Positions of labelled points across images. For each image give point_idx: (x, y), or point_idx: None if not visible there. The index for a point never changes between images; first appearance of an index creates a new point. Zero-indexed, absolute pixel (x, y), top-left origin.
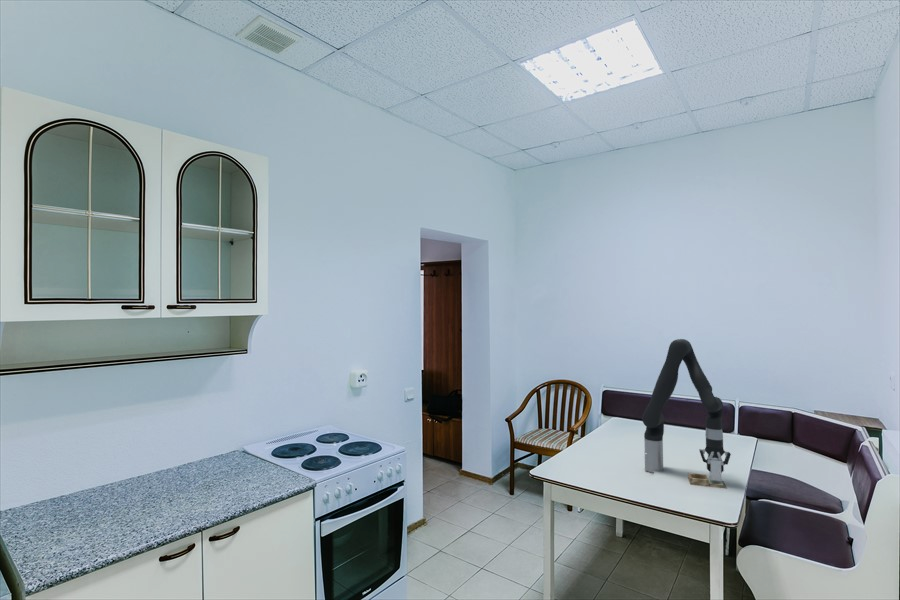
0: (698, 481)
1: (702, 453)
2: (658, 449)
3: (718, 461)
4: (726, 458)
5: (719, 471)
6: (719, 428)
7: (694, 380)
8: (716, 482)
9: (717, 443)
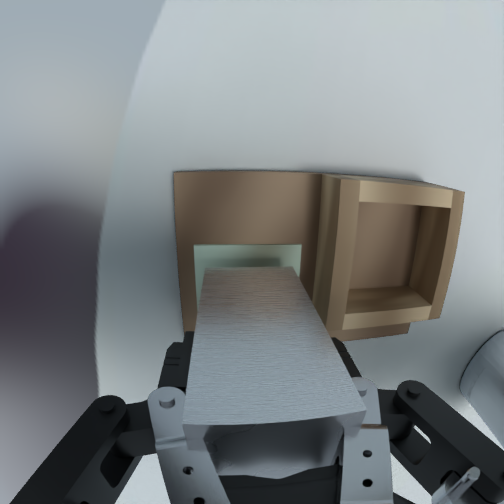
0: (406, 182)
1: (486, 461)
2: None
3: (226, 412)
4: (84, 469)
5: (217, 315)
6: None
7: None
8: None
9: None
